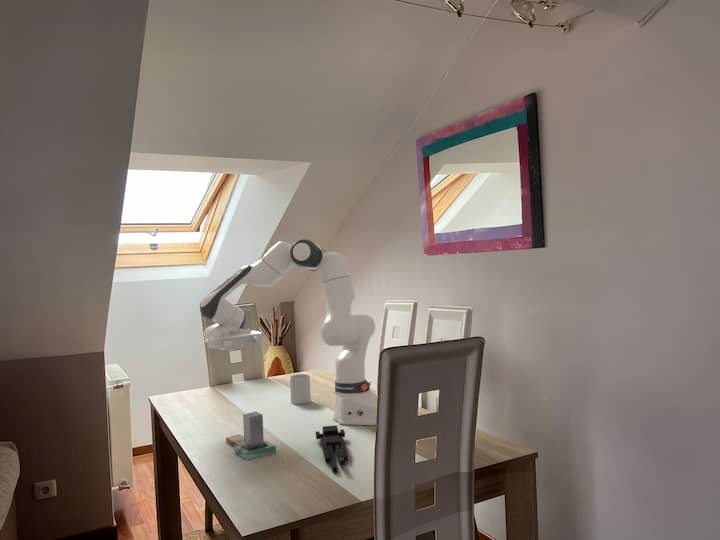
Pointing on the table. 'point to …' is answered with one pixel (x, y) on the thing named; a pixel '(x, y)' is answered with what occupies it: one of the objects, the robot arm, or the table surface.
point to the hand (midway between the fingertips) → (244, 342)
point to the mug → (300, 389)
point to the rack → (241, 451)
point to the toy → (333, 445)
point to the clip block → (253, 431)
